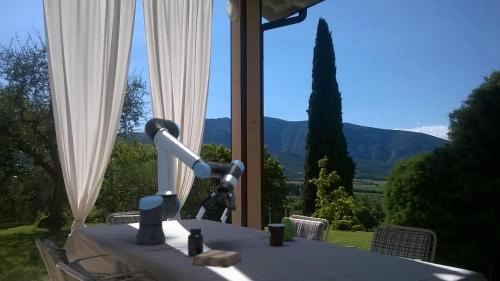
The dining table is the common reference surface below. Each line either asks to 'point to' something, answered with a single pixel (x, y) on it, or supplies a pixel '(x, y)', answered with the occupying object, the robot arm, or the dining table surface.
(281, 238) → the coffee mug
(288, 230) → the avocado
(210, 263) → the pedestal
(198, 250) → the supplement bottle
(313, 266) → the dining table surface
